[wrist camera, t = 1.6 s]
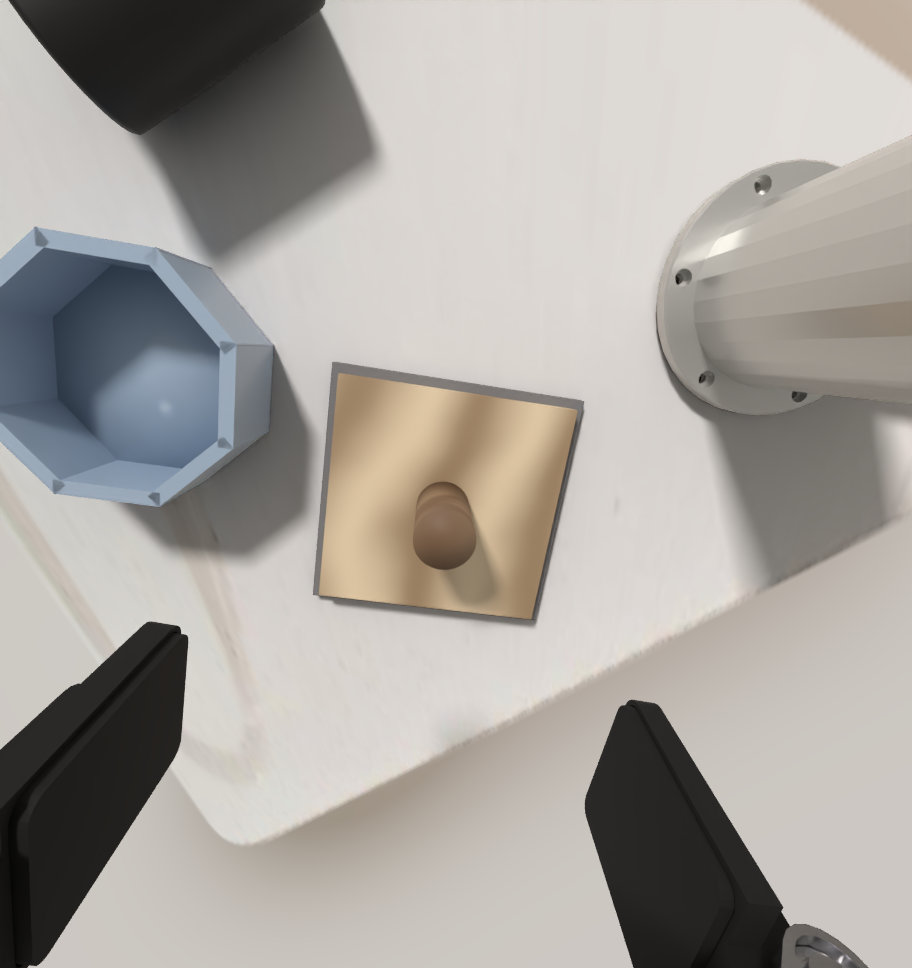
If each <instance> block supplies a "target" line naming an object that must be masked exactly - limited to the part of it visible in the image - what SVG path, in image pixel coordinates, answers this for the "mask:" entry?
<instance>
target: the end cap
mask: <svg viewBox="0 0 912 968" xmlns="http://www.w3.org/2000/svg"><path fill="white" fill-rule="evenodd" d="M9 2H10V3H11V4H12V6H13V7H14V9H15V10H16V12H17V13H18V14H19V16H20V17H21V19H22V20H23V21H24V23H25V24H26V25H27V26H28V28H29V29H30V30H31V32H32V33H33V34H34V36H35V37H36V38H37V39H38V41H39V42H40V43H41V44H42V46H43V47H44V48H45V49H46V50H47V52H48V53H49V54H50V55H51V57H52V58H53V59H54V60H55V61H56V62H57V64H58V65H59V66H60V67H61V68H62V69H63V70H64V72H65V73H66V74H67V75H68V76H69V77H70V78H71V79H72V81H73V82H74V83H75V84H76V85H77V86H78V87H79V88H80V89H81V90H82V91H83V92H84V93H85V94H86V95H87V96H88V97H89V98H90V99H91V100H92V101H93V102H94V103H95V104H96V105H97V106H98V107H99V108H100V109H101V110H102V111H103V112H104V113H105V114H106V115H108V116H109V117H110V118H111V119H112V120H113V121H115V122H116V123H117V124H118V125H120V126H121V127H123V128H124V129H126V130H127V131H129V132H131V133H134V134H137V135H141V134H143V133H145V132H147V131H148V130H150V129H151V128H152V127H154V126H155V125H157V124H158V123H160V122H161V121H162V120H164V119H165V118H167V117H168V116H169V115H171V114H172V113H174V112H175V111H177V110H178V109H179V108H181V107H182V106H184V105H185V104H187V103H188V102H189V101H191V100H192V99H194V98H195V97H197V96H198V95H199V94H201V93H202V92H204V91H205V90H206V89H208V88H209V87H211V86H212V85H214V84H215V83H216V82H218V81H219V80H221V79H222V78H224V77H225V76H226V75H228V74H229V73H231V72H232V71H234V70H235V69H236V68H238V67H239V66H241V65H242V64H243V63H245V62H246V61H248V60H249V59H251V58H252V57H253V56H255V55H256V54H258V53H259V52H261V51H262V50H263V49H265V48H266V47H268V46H269V45H271V44H272V43H273V42H275V41H276V40H278V39H279V38H280V37H282V36H283V35H285V34H286V33H288V32H289V31H290V30H292V29H293V28H295V27H296V26H298V25H299V24H300V23H302V22H303V21H305V20H306V19H308V18H309V17H310V16H312V15H313V14H315V13H316V12H317V11H319V10H320V9H322V8H323V6H324V4H325V0H9Z"/></svg>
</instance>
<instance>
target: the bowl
mask: <svg viewBox="0 0 912 968" xmlns="http://www.w3.org/2000/svg"><path fill="white" fill-rule="evenodd" d="M273 348H274V345H273V344H272V343H271V342H270V340H269V339H268V338H267V337H266V335H265V334H264V333H263V332H262V331H261V329H260V328H259V327H258V326H257V324H256V323H255V322H254V321H253V319H252V318H251V317H250V316H249V315H248V313H247V312H246V311H245V310H244V308H243V307H242V306H241V305H240V303H239V302H238V301H237V300H236V299H235V297H234V296H233V295H232V294H231V292H230V291H229V290H228V289H227V287H226V286H225V285H224V284H223V283H222V281H221V280H220V279H219V278H218V276H217V275H216V274H215V273H214V271H213V270H212V268H210V267H207V266H205V265H202V264H199V263H197V262H194V261H191V260H188V259H186V258H183V257H180V256H178V255H175V254H172V253H170V252H167V251H164V250H162V249H159V248H156V247H155V248H153V247H147V246H142V245H136V244H130V243H124V242H118V241H112V240H107V239H101V238H95V237H89V236H83V235H78V234H72V233H66V232H60V231H54V230H48V229H43V228H38V227H34V229H33V230H32V231H30V232H29V233H28V234H27V235H26V236H25V237H24V238H23V239H22V240H21V241H20V242H19V243H18V244H16V245H15V246H14V247H13V248H12V249H11V250H10V251H9V252H8V253H7V254H6V255H5V256H4V257H2V258H1V259H0V442H1V443H2V444H3V445H4V446H5V447H6V448H7V449H8V450H9V451H11V452H12V453H13V454H14V455H15V456H16V457H17V458H18V459H19V460H20V461H21V462H22V463H23V464H24V465H25V466H26V467H27V468H28V469H29V470H30V471H31V472H32V473H33V474H35V475H36V476H37V477H38V478H39V479H40V480H41V481H42V482H43V483H44V484H45V485H46V486H47V487H48V488H49V489H50V490H51V491H52V492H53V494H61V495H69V496H77V497H85V498H93V499H101V500H109V501H116V502H124V503H132V504H140V505H148V506H156V507H161V506H163V505H164V504H166V503H168V502H170V501H171V500H173V499H175V498H177V497H178V496H180V495H182V494H184V493H185V492H187V491H189V490H191V489H192V488H194V487H196V486H198V485H199V484H201V483H203V482H205V481H206V480H208V479H209V478H210V477H211V476H212V475H214V474H215V473H216V472H217V471H219V470H220V469H221V468H223V467H224V466H225V465H226V464H228V463H229V462H230V461H232V460H233V459H234V458H235V457H237V456H238V455H239V454H241V453H242V452H243V451H244V450H246V449H247V448H248V447H250V446H251V445H252V444H253V443H255V442H256V441H257V440H258V439H260V438H261V437H262V436H264V435H265V434H266V433H268V432H269V426H270V406H271V387H272V367H273Z"/></svg>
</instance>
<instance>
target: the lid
mask: <svg viewBox="0 0 912 968" xmlns="http://www.w3.org/2000/svg"><path fill="white" fill-rule="evenodd" d="M577 412H578V411H577V410H575V409H570V408H563V407H557V406H550V405H544V404H537V403H531V402H525V401H518V400H512V399H505V398H499V397H492V396H486V395H479V394H473V393H467V392H460V391H454V390H447V389H441V388H434V387H428V386H421V385H415V384H408V383H402V382H396V381H389V380H383V379H376V378H370V377H363V376H357V375H350V374H344V373H339V374H338V381H337V392H336V403H335V415H334V426H333V438H332V449H331V461H330V472H329V483H328V495H327V506H326V518H325V529H324V541H323V552H322V564H321V575H320V586H319V595H323V596H331V597H340V598H349V599H358V600H366V601H375V602H384V603H392V604H401V605H410V606H419V607H427V608H436V609H445V610H453V611H462V612H471V613H480V614H488V615H497V616H506V617H514V618H523V619H531V618H532V614H533V609H534V605H535V600H536V596H537V591H538V587H539V582H540V578H541V573H542V569H543V564H544V560H545V555H546V551H547V546H548V542H549V538H550V533H551V529H552V524H553V520H554V515H555V511H556V506H557V502H558V497H559V493H560V488H561V484H562V479H563V475H564V470H565V466H566V461H567V457H568V452H569V448H570V443H571V439H572V434H573V430H574V426H575V421H576V417H577Z"/></svg>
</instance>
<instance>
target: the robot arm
mask: <svg viewBox="0 0 912 968" xmlns="http://www.w3.org/2000/svg"><path fill="white" fill-rule="evenodd" d="M754 188H755V189H754ZM675 276H678V278H679V282H678V284H677V283H676V282H675ZM657 324H658V333H659V337H660V341H661V345H662V349H663V352H664V354H665V356H666V358H667V361H668V363H669V365H670V367H671V369H672V371H673V372H674V373H675V375H676V376H677V377H678V379H679V380H680V381H681V383H682V384H683V385H684V386H685V387H686V388H687V389H688V390H690V391H691V392H692V393H693V394H694V395H695V396H697V397H698V398H699V399H701V400H703V401H705V402H707V403H709V404H711V405H713V406H714V407H717V408H720V409H724V410H728V411H731V412H735V413H742V414H749V415H772V414H778V413H783V412H787V411H791V410H795V409H798V408H800V407H802V406H805V405H807V404H809V403H812V402H814V401H816V400H818V399H819V398H821V397H823V396H824V395H832V396H841V397H850V398H859V399H867V400H876V401H885V402H894V403H903V404H912V135H911V136H909V137H906V138H904V139H902V140H900V141H898V142H895V143H893V144H891V145H889V146H887V147H884V148H882V149H880V150H878V151H875V152H873V153H871V154H869V155H867V156H864V157H862V158H860V159H858V160H856V161H853V162H851V163H849V164H847V165H845V166H842V167H839V166H837V165H834V164H831V163H828V162H825V161H817V160H806V159H797V160H790V161H782V162H776V163H773V164H770V165H767V166H765V167H762V168H759V169H756V170H753V171H751V172H749V173H748V174H746V175H744V176H742V177H740V178H738V179H737V180H735V181H733V182H731V183H730V184H728V185H727V186H726V187H724V188H723V189H721V190H720V191H719V192H717V193H716V194H714V195H713V196H712V197H710V198H709V199H708V200H707V201H706V202H705V203H704V204H703V205H702V206H701V207H700V208H699V209H698V210H697V212H696V213H695V214H694V215H693V216H692V217H691V218H690V220H689V221H688V223H687V224H686V226H685V227H684V228H683V230H682V231H681V233H680V234H679V235H678V237H677V239H676V241H675V243H674V245H673V247H672V249H671V251H670V253H669V256H668V258H667V260H666V263H665V266H664V270H663V273H662V277H661V280H660V283H659V291H658V300H657ZM700 375H701V376H702V377H701V381H700V382H699V377H700ZM187 651H188V636H187V635H184V634H181V629H180V627H179V626H175V625H169V624H163V623H157V622H147V623H146V624H144V625H143V626H142V627H141V628H140V629H139V630H138V631H137V632H135V633H134V634H133V635H132V636H131V637H130V638H129V639H128V640H127V641H126V642H125V643H124V644H123V645H122V646H121V647H119V648H118V649H117V650H116V651H115V652H114V653H113V654H112V655H111V656H110V657H109V658H108V659H107V660H106V661H105V662H103V663H102V664H101V665H100V666H99V667H98V668H97V669H96V670H95V671H94V672H93V673H92V674H91V675H90V676H89V677H88V678H86V679H85V680H84V681H83V682H82V683H81V684H76V685H73V686H71V687H69V688H68V689H67V690H65V691H64V692H63V693H62V694H61V695H60V696H59V697H57V698H56V699H55V700H54V701H53V702H52V703H51V704H50V705H49V706H48V707H46V708H45V709H44V710H43V711H42V712H41V713H40V714H39V715H38V716H37V717H36V718H35V719H33V720H32V721H31V722H30V723H29V724H28V725H27V726H26V727H25V728H24V729H23V730H22V731H20V732H19V733H18V734H17V735H16V736H15V737H14V738H13V739H12V740H11V741H10V742H8V743H7V744H6V745H5V746H4V747H3V748H2V749H1V750H0V968H27V967H28V966H29V965H31V966H37V965H39V964H40V963H41V962H42V961H43V960H44V959H45V958H46V956H47V955H48V953H49V952H50V951H51V949H52V948H53V946H54V944H55V943H56V941H57V940H58V938H59V937H60V935H61V934H62V932H63V930H64V929H65V927H66V926H67V924H68V923H69V921H70V919H71V918H72V916H73V915H74V913H75V912H76V910H77V909H78V907H79V906H80V904H81V903H82V901H83V899H84V898H85V896H86V895H87V893H88V892H89V890H90V888H91V887H92V885H93V884H94V882H95V881H96V879H97V878H98V876H99V874H100V873H101V871H102V870H103V868H104V867H105V865H106V864H107V862H108V861H109V859H110V857H111V856H112V854H113V853H114V851H115V850H116V848H117V847H118V845H119V844H120V842H121V840H122V839H123V837H124V836H125V834H126V832H127V831H128V830H129V828H130V826H131V825H132V823H133V822H134V820H135V819H136V817H137V816H138V814H139V812H140V811H141V809H142V808H143V806H144V805H145V803H146V802H147V800H148V798H149V797H150V795H151V794H152V792H153V791H154V789H155V787H156V786H157V784H158V783H159V781H160V780H161V778H162V777H163V775H164V774H165V772H166V770H167V769H168V767H169V766H170V764H171V763H172V761H173V759H174V758H175V756H176V754H177V751H178V749H179V746H180V742H181V733H182V719H183V706H184V692H185V679H186V665H187ZM585 813H586V818H587V821H588V824H589V827H590V830H591V834H592V837H593V840H594V843H595V846H596V849H597V853H598V856H599V859H600V862H601V865H602V869H603V872H604V875H605V878H606V881H607V885H608V888H609V890H610V894H611V897H612V900H613V904H614V907H615V910H616V913H617V916H618V919H619V923H620V926H621V929H622V932H623V935H624V939H625V942H626V945H627V948H628V951H629V955H630V958H631V961H632V964H633V967H634V968H868V967H867V966H866V965H865V964H864V963H863V962H862V961H861V960H860V959H859V957H857V956H856V955H855V953H853V952H852V951H851V950H850V949H849V948H847V947H846V946H845V945H844V944H842V943H841V942H840V941H839V940H837V939H836V938H834V937H832V936H831V935H829V934H828V933H826V932H824V931H822V930H821V929H818V928H815V927H812V926H810V925H807V924H794V925H792V926H791V927H790V926H789V924H788V922H787V921H786V919H785V917H784V916H783V914H782V912H781V911H782V909H783V906H782V904H781V903H780V901H779V900H778V898H777V896H776V895H775V893H774V891H773V890H772V888H771V887H770V885H769V883H768V882H767V880H766V879H765V877H764V875H763V874H762V872H761V870H760V869H759V867H758V865H757V864H756V862H755V861H754V859H753V857H752V856H751V854H750V852H749V851H748V849H747V848H746V846H745V844H744V843H743V841H742V840H741V838H740V836H739V835H738V833H737V831H736V830H735V828H734V826H733V825H732V823H731V822H730V820H729V819H728V817H727V815H726V813H725V812H724V810H723V809H722V807H721V805H720V804H719V802H718V801H717V799H716V797H715V796H714V794H713V792H712V791H711V789H710V788H709V786H708V784H707V783H706V781H705V779H704V778H703V776H702V774H701V773H700V771H699V770H698V768H697V766H696V765H695V763H694V761H693V760H692V758H691V757H690V755H689V753H688V752H687V750H686V748H685V747H684V745H683V744H682V742H681V740H680V739H679V737H678V736H677V734H676V732H675V731H674V729H673V727H672V726H671V724H670V722H669V721H668V719H667V718H666V716H665V714H664V713H663V711H662V709H661V708H660V707H659V706H658V705H657V704H655V703H649V702H643V701H637V700H629V701H628V702H627V704H626V705H625V706H620V708H619V709H618V712H617V714H616V717H615V720H614V722H613V725H612V728H611V730H610V733H609V736H608V738H607V741H606V744H605V746H604V749H603V752H602V754H601V757H600V760H599V762H598V765H597V768H596V770H595V773H594V776H593V779H592V781H591V784H590V787H589V790H588V792H587V795H586V799H585Z"/></svg>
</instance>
